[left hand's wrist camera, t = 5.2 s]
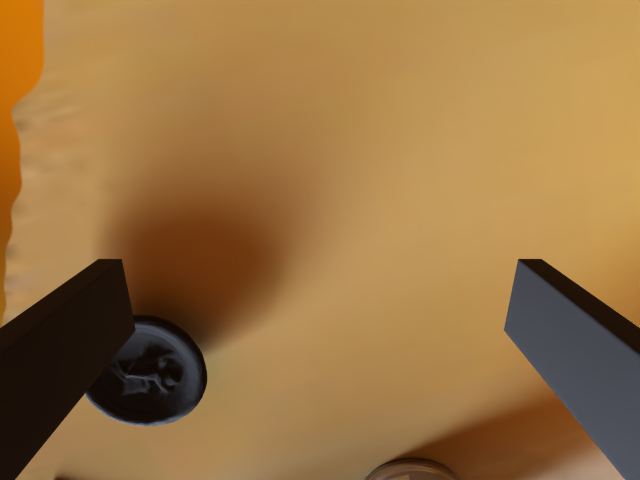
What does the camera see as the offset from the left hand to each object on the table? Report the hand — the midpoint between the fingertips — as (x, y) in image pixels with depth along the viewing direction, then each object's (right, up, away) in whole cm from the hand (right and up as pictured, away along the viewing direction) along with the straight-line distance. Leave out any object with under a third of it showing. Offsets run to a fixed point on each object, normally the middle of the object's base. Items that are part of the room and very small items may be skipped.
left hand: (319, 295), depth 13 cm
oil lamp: (-23, -11, +34) cm, 42 cm away
